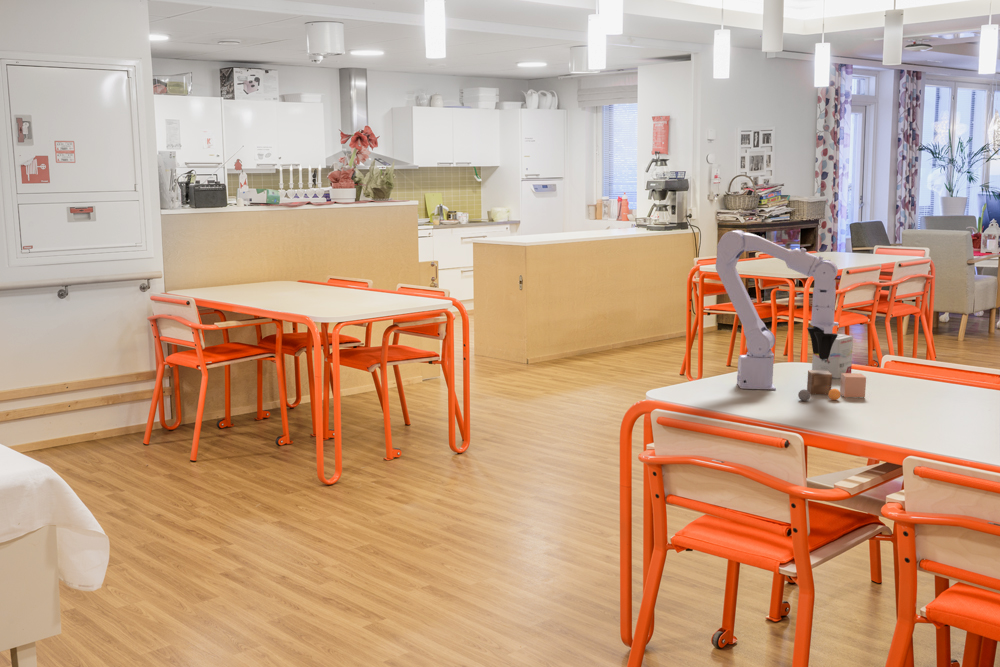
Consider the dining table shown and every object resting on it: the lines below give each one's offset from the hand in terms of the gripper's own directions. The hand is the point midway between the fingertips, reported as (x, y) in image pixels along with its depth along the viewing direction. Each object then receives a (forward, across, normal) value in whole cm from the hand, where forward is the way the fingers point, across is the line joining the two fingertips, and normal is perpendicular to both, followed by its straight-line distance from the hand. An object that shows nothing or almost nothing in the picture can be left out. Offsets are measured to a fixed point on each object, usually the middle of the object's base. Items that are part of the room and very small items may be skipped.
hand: (820, 356), depth 252 cm
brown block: (+10, 0, 0) cm, 10 cm away
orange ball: (+10, -9, -2) cm, 14 cm away
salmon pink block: (+10, -3, -8) cm, 13 cm away
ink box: (+10, +25, -9) cm, 28 cm away
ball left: (+10, -11, +6) cm, 16 cm away
